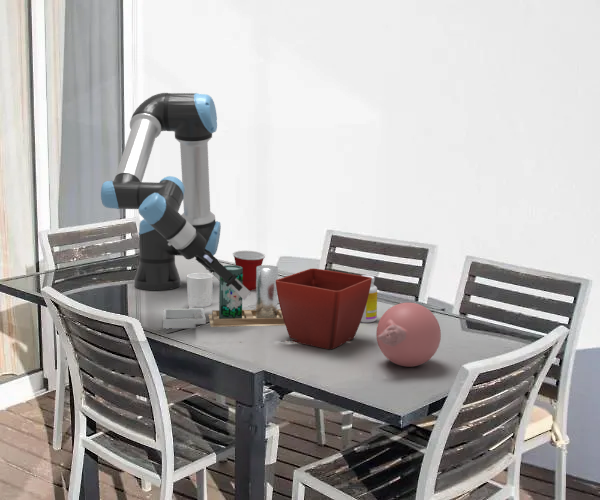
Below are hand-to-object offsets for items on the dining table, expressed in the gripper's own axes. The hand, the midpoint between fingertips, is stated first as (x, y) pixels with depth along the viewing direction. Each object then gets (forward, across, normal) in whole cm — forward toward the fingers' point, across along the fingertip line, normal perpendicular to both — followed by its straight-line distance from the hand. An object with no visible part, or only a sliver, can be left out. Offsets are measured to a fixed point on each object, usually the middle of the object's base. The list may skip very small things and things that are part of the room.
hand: (239, 290), depth 231 cm
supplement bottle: (+32, +9, +18) cm, 38 cm away
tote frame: (-3, -6, -17) cm, 18 cm away
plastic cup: (+19, -39, +5) cm, 43 cm away
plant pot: (+18, +23, +4) cm, 29 cm away
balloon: (+24, +49, +10) cm, 55 cm away
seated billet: (+11, +3, -1) cm, 11 cm away
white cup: (+3, -20, -11) cm, 23 cm away
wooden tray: (+8, +1, -5) cm, 10 cm away
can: (+4, 0, -8) cm, 9 cm away
